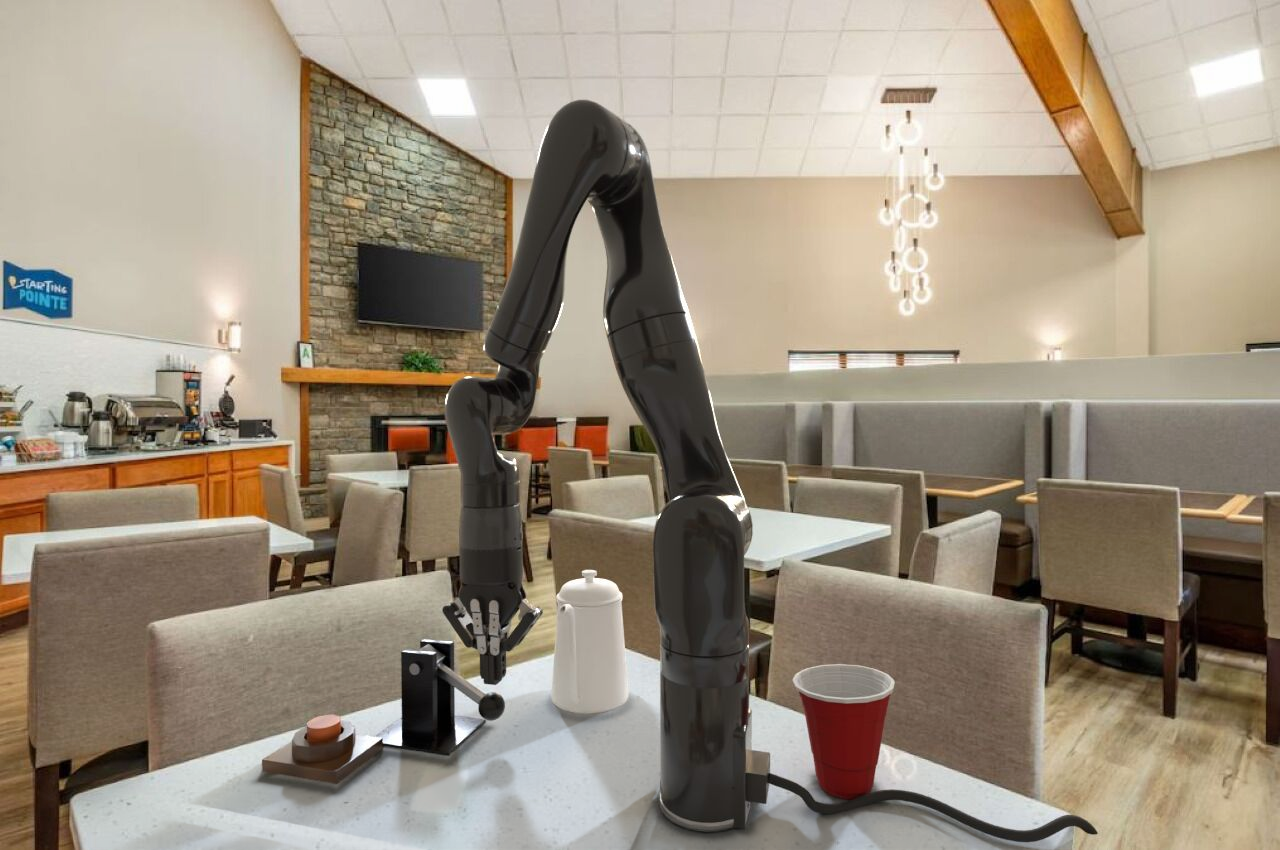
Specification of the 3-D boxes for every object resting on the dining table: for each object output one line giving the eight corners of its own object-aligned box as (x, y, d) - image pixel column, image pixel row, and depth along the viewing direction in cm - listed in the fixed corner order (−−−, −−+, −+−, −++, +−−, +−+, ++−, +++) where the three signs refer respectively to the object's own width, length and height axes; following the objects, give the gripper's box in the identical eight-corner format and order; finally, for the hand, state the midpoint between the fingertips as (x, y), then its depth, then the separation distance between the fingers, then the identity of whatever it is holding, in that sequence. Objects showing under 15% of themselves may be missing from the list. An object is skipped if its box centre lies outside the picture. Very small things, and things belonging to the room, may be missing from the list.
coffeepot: (519, 742, 84) (518, 592, 83) (577, 667, 108) (577, 551, 108) (604, 751, 82) (603, 597, 81) (644, 672, 106) (643, 554, 106)
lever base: (485, 728, 88) (485, 638, 87) (448, 763, 79) (447, 663, 79) (412, 718, 91) (411, 631, 90) (368, 750, 82) (367, 654, 82)
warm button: (347, 731, 79) (347, 716, 79) (325, 745, 76) (325, 730, 76) (322, 727, 80) (322, 712, 80) (299, 741, 77) (299, 726, 77)
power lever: (502, 718, 84) (513, 697, 83) (490, 730, 81) (501, 708, 80) (421, 660, 87) (432, 639, 86) (406, 669, 84) (417, 648, 83)
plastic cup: (813, 750, 82) (814, 652, 82) (906, 778, 76) (906, 672, 75) (776, 790, 73) (776, 681, 73) (877, 826, 67) (878, 706, 67)
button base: (383, 755, 81) (383, 722, 81) (336, 792, 73) (336, 755, 73) (313, 744, 84) (313, 713, 83) (261, 778, 76) (261, 743, 76)
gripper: (425, 544, 80) (428, 689, 81) (527, 549, 77) (529, 700, 77) (459, 533, 87) (461, 666, 88) (553, 537, 84) (555, 675, 84)
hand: (493, 682), depth 82 cm, fingers closed
